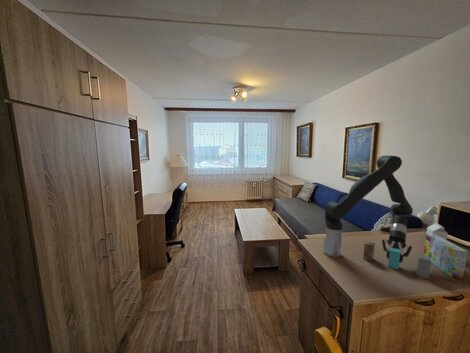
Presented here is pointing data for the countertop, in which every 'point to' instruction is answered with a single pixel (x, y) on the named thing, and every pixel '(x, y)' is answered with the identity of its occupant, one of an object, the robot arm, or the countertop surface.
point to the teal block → (394, 258)
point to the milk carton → (437, 231)
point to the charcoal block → (423, 266)
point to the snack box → (445, 255)
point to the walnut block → (369, 251)
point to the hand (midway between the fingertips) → (394, 260)
